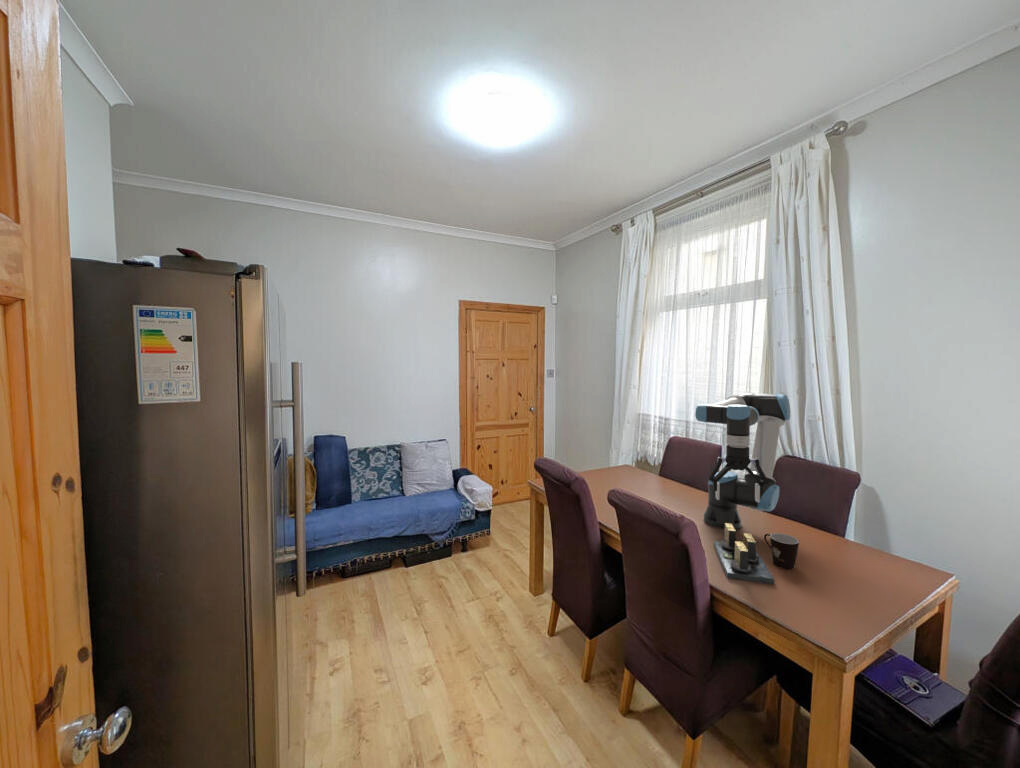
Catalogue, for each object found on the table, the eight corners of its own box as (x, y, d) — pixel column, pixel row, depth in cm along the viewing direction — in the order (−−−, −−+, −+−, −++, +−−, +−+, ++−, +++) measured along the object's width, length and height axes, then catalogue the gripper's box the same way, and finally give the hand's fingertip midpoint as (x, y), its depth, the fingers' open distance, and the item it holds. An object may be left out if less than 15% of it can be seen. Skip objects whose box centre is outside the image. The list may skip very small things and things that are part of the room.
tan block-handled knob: (719, 541, 154) (719, 522, 153) (736, 543, 152) (736, 524, 151) (723, 550, 147) (723, 530, 146) (741, 552, 145) (741, 532, 145)
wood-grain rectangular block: (737, 552, 145) (737, 532, 144) (755, 555, 143) (755, 534, 142) (742, 562, 138) (742, 541, 137) (761, 565, 136) (762, 543, 136)
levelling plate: (713, 545, 155) (713, 539, 155) (753, 550, 151) (753, 544, 151) (727, 578, 132) (727, 571, 132) (774, 584, 128) (774, 577, 128)
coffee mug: (803, 572, 135) (804, 545, 134) (776, 570, 137) (776, 543, 136) (786, 555, 146) (787, 530, 146) (761, 554, 148) (762, 528, 147)
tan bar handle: (728, 561, 139) (729, 540, 138) (747, 564, 137) (748, 542, 136) (733, 572, 132) (734, 550, 131) (753, 575, 130) (754, 552, 129)
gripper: (703, 446, 145) (703, 501, 146) (779, 449, 138) (778, 506, 140) (699, 442, 152) (699, 494, 153) (771, 444, 145) (770, 498, 147)
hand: (737, 500), depth 146 cm, fingers open, 13 cm apart
